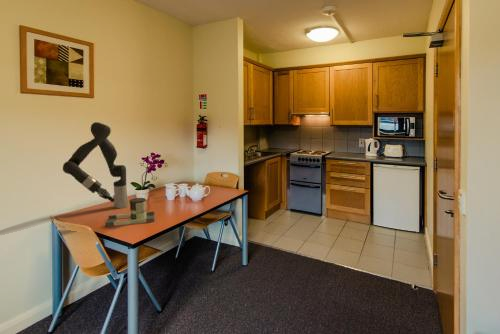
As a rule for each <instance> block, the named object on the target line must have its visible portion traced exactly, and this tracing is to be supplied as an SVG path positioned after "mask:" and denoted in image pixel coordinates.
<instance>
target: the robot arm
mask: <svg viewBox="0 0 500 334" xmlns="http://www.w3.org/2000/svg"><path fill="white" fill-rule="evenodd" d="M111 131H112V130H111V127H110V126H109V125H107V124H104V123H101V122H97V121H95V122H93V123H92V124H91V125H90V132H91V134H92V136H93V138H92V139H90V140H89V141H87V142H85V143H84V144H81V145H80V146H78V148H77V149H76V150H75V151H74V152H73V153H72V156H71V157H70V158H69V159H68V160H67V161H65V162H64V163H63V165H62V171H63V172H64V173H65V174H68V175H70V176H71V177H74V180H76V181H77V182H78V183H80V184H81V185H82V186H83V188H86V189H87V190H88V191H90V192H91V193H92V194H94V193H97V195H99V196H98V197H100V198H102V199H104V200H109V201H110V203H113V208H116V209H123V208H127V207H128V206H129V205H128V190H127V168H126V166H125V165H123V164H119V165H118V164H115V161H116V159H117V157H118V152H117V150H116V147H115V145H114V144H113V143H112V142H111V141H110V140H109V139H108V137H109V136H110V135H111V133H112V132H111ZM97 147H99V149H100V151H101V154H102V155H103V158H104V160H105V162H106V164H107V167H108V169H109V174H110V176H111V177H113V178H120V179H119V180H115V181H114V182H113V194H114V195H112V196H111V194H110V193H109V191H108V190H107V189H106V188H103V187H101V186H102V183H101V182H99V181H98V180H97V179H95V178H94V177H93V176H91V175H89V174H88V173H87V172H86V171H84V170H83V169H82V168H81V167H80V164H81V163H82V162H84V161H85V159H87V157H88V156H89V154H90V153H92V151H93V150H94V149H95V148H97Z"/></svg>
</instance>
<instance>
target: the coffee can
mask: <svg viewBox="0 0 500 334" xmlns="http://www.w3.org/2000/svg"><path fill="white" fill-rule="evenodd" d="M146 200H147V199H146V198H145V197H136V198H131V199H130V200H129V212H130V214H131V217H130V220H134V219H145V218H147V216H146V212H147V205H146V204H147V203H146Z"/></svg>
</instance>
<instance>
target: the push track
mask: <svg viewBox="0 0 500 334" xmlns="http://www.w3.org/2000/svg"><path fill="white" fill-rule="evenodd" d="M107 216H108V217H107V219H108V220H107V221H106V222H104V226H105V227H114V226H122V225H123V226H124V225H136V224H142V223H145V224H146V223H154V222H155V211H146V217H147V218H145V219H134V220H131V213H123V214H112V215H111V214H110V215H107ZM129 218H130V219H129ZM119 219H125V220H119ZM126 219H127V220H126Z"/></svg>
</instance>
